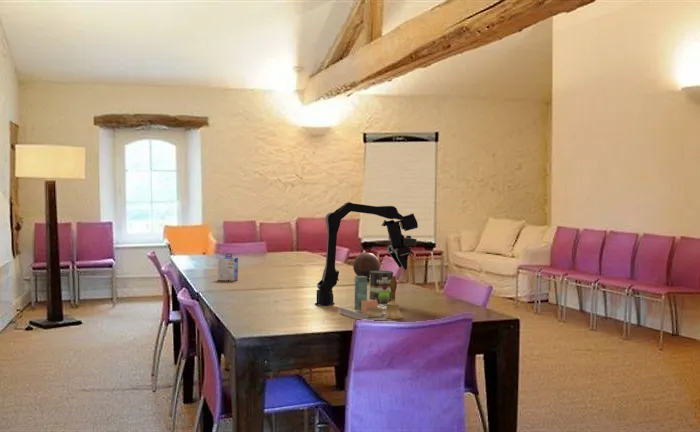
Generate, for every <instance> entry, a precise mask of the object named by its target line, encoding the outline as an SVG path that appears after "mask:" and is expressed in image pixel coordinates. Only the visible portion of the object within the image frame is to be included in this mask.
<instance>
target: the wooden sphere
mask: <svg viewBox="0 0 700 432" xmlns="http://www.w3.org/2000/svg"><path fill="white" fill-rule="evenodd" d="M352 267H353V272H354V273H355V276H365V277H367V279H368V280H370V279H369V278H370V271H381V263H380V259H379V258H378V257H377V256H376V255H375V254H373V253H370V252H363V253H360V254H358V255H357V256H356V257H355V259H354V260H353V265H352Z"/></svg>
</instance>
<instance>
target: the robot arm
mask: <svg viewBox="0 0 700 432" xmlns="http://www.w3.org/2000/svg"><path fill="white" fill-rule="evenodd" d="M351 212H354V213H362V214H367V215H368V214H369V215H375V216H378V217H380V218H384V220H383V221H382V224H381V227H386V229H387V233H388V240H389V242H390V245H388V246H387V248H386V251H387V253H388V255H390V257H391V258H392V259H393V261H394V263H395V264H396V266H398V267H399V268H403V269H404V271H405V270H408V257H409V256H410V255H411V253H412V249H411V246H413V247H416V246H417V241H418V240H417V238H413V237H412V236H411V235H406V236H405V235H404V234H402V230H403V231H404V232H407V231H412V230H415V229H418V227H419V225H418V220H417V218H416V216H415V214H414V213H413V212H412V213H409V214H405V215H402V214H401V213H400V212H399V210H398V209H397V207H396V206H393V205H380V206H379V205H378V206H377V205H375V206H374V205H367V204H362V203H361V204H360V203H353V202H350V201H348V202H347V201H346V202H345V203H344V204H343V205H342V206H340V207H339V208H337V209H336V210H335V211H331V212H329V213H327V214H326V215H325V226H326V227H325V228H326V232H327V237H326V238H327V239H326V241H327V243H326V255H325V257H326V258H325V266H324V269H323V272H322V277H321V280H320V281H319V282H317V284H316V287H317V289H316V302H315V303H314V305H315V306H324V307H328V306H332V305H335V302H334V293H333V288H334V287H336V285H337V284H338V282H339V280H340V279H339V274H340V271H339V270H338V269H336V254H337V241H338V237H337V236H338V232H339V229H340V225H341V221H342V219H344V218H345V217H347V215H349V213H351ZM385 219H388V220H385ZM394 219H395V220H396V221H395V220H394Z"/></svg>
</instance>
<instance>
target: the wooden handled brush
mask: <svg viewBox="0 0 700 432" xmlns="http://www.w3.org/2000/svg"><path fill="white" fill-rule="evenodd" d="M397 286H398V282H397V278H396V276H395V275H393V276H392V279H391V282H390V288H391V301H390V302H389V303H387V305H386V306H387V308H386V311H385V314H386V319H389V320H390V319H392V320H393V319H395V320H398V319H399V320H400V319H402V318H404V316H403V315H402V313H401V311H400V305H399V303H398V302H397V301H396V291H397Z"/></svg>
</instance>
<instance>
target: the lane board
mask: <svg viewBox="0 0 700 432" xmlns="http://www.w3.org/2000/svg"><path fill="white" fill-rule="evenodd" d="M378 306H382V307H386V308H387V305H386V306H384V305H378ZM338 312H339V314H341V315H343V316H345V317H346V316H347V317H349V318H353V319H356V320H358V319H367V320H382V321H387V318H386V314H385V312H382V317H371V318H368V316H369V315H366V314H362V313H359V312H356V311H353V309H349V308H346V307H342V306H339V311H338Z"/></svg>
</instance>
